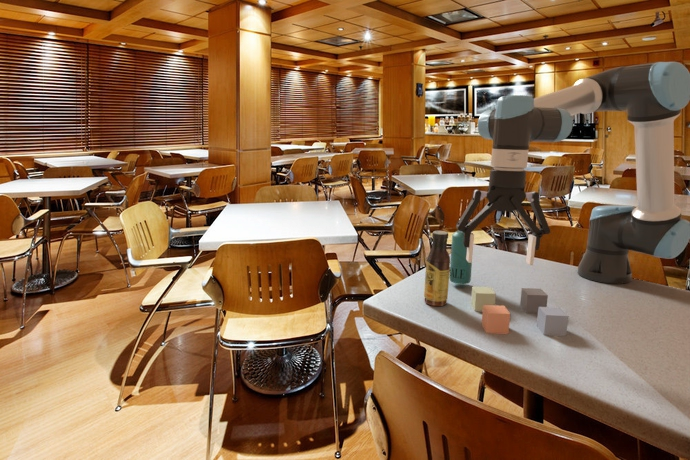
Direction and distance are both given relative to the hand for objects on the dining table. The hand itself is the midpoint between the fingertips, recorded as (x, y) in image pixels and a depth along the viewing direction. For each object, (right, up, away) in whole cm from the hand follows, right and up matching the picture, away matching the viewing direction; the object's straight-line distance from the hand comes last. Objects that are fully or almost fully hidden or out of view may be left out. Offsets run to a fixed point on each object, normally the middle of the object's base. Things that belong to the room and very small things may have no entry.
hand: (499, 262), depth 105 cm
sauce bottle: (-11, -13, +19) cm, 25 cm away
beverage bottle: (-1, -9, +33) cm, 35 cm away
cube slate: (+13, -16, +3) cm, 21 cm away
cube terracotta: (0, -16, +4) cm, 17 cm away
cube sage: (+1, -13, +16) cm, 21 cm away
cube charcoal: (+14, -13, +16) cm, 25 cm away
